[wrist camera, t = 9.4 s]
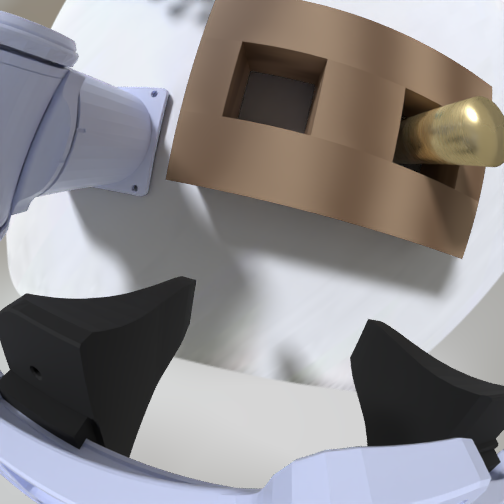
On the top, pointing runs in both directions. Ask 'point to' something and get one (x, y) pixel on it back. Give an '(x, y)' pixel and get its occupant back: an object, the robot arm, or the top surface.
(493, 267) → the top surface
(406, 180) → the hole block
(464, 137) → the peg
